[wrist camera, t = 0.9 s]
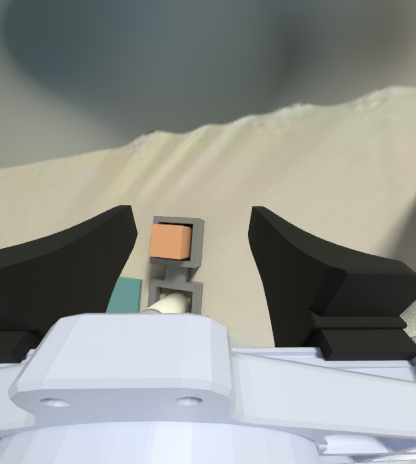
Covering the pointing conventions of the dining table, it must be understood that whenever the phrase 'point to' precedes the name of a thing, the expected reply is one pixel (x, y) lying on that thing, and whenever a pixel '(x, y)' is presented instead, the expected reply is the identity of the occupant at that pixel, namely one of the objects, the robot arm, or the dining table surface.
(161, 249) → the orange cube
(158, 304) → the cylinder
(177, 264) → the housing
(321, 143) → the dining table surface
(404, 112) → the dining table surface
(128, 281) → the mat
